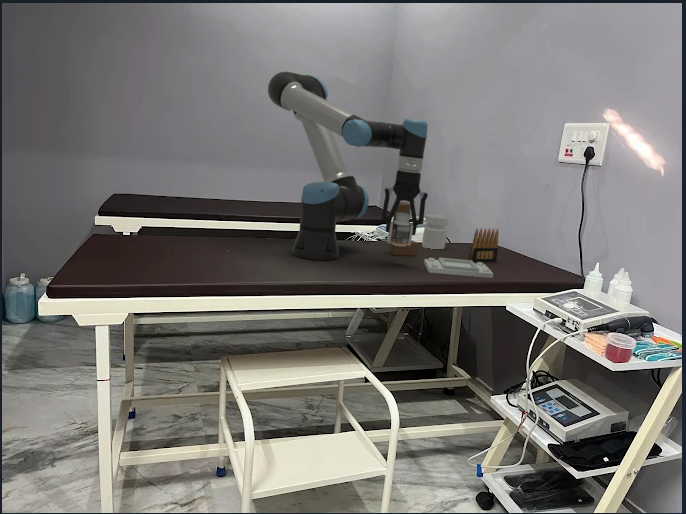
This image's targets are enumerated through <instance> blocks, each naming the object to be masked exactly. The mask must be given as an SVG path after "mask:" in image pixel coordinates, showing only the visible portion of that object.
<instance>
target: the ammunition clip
mask: <svg viewBox="0 0 686 514" xmlns="http://www.w3.org/2000/svg"><path fill="white" fill-rule="evenodd" d="M499 232H500V231H499V227H497V228H496V230H495V228H494V227H493V228H492V230H491V228H490V227H489V228H488V230H487V228H486V227H485V228H484V229H483V228H482V227H481V228H480V229H478V227H477V228H476V229H475V230H474V236H473V239H472V246H471V247H470V251H469V252H470V253H469V258H468V260H471V261H473V262H474V263H477V262H482V263H496V262H497V259H498V251H499V250H498V249H499V248H498V244H499V234H500V233H499Z"/></svg>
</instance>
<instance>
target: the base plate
mask: <svg viewBox="0 0 686 514" xmlns="http://www.w3.org/2000/svg"><path fill="white" fill-rule="evenodd" d="M423 265H424V267H425V268H426V270H427V272H428V273H431V274H439V275H440V274H442V275H450V276H451V275H453V276H461V277H462V276H463V277H465V276H466V277H472V276H473V277H474V278H486V279H493V278H494V273H493V271H492V270H491V269H490V268H489V267H488V266H487V265H486V264H484V262H473V261H471V260H469V259H458V258H457V259H456V258H448V257H447V258H446V257H438V259H436V258H434V257H428V258H424V259H423Z"/></svg>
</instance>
